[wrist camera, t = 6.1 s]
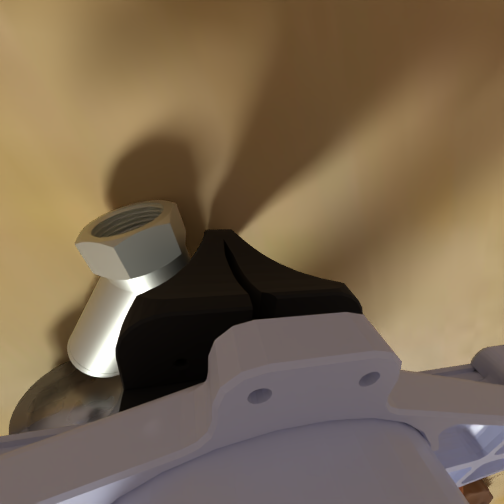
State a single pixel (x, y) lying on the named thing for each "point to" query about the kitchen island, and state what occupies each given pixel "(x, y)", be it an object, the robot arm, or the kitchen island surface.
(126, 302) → the pipe fitting
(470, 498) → the plant
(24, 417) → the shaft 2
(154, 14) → the kitchen island surface
